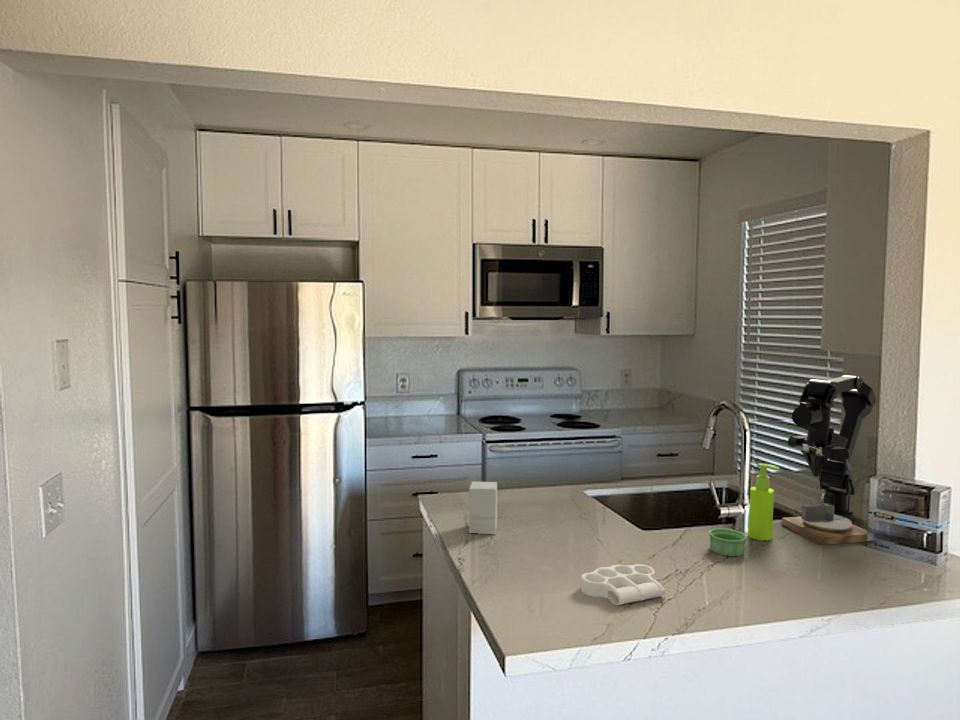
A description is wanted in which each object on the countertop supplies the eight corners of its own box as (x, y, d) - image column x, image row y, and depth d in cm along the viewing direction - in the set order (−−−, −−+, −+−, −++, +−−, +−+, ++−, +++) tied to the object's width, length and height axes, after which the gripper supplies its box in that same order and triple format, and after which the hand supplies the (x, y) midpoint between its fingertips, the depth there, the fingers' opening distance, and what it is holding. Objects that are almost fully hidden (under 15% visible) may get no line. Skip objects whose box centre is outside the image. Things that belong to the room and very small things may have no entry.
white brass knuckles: (606, 612, 135) (569, 583, 148) (677, 597, 142) (635, 571, 155) (606, 596, 135) (569, 569, 148) (677, 582, 142) (636, 558, 155)
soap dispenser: (772, 543, 174) (776, 468, 172) (745, 537, 178) (749, 464, 176) (778, 536, 179) (782, 464, 177) (751, 531, 183) (755, 460, 181)
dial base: (830, 521, 192) (830, 513, 192) (873, 540, 176) (874, 532, 176) (781, 524, 189) (782, 517, 188) (821, 544, 173) (822, 536, 173)
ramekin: (749, 559, 163) (749, 541, 163) (710, 555, 165) (711, 538, 164) (742, 546, 172) (743, 529, 171) (706, 543, 174) (706, 526, 173)
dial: (832, 516, 189) (833, 497, 188) (861, 531, 177) (863, 511, 177) (790, 518, 187) (791, 499, 187) (816, 532, 175) (818, 512, 175)
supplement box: (497, 525, 185) (498, 481, 184) (495, 535, 177) (496, 489, 176) (471, 524, 185) (471, 480, 184) (468, 533, 178) (468, 488, 177)
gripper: (868, 428, 183) (864, 483, 184) (820, 417, 201) (817, 467, 203) (833, 429, 181) (829, 485, 182) (788, 417, 199) (785, 468, 200)
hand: (815, 476), depth 192 cm, fingers closed
